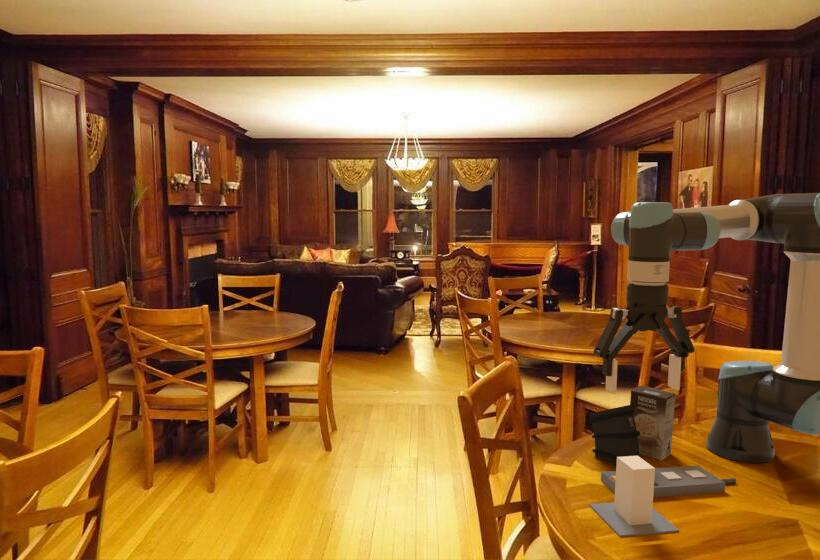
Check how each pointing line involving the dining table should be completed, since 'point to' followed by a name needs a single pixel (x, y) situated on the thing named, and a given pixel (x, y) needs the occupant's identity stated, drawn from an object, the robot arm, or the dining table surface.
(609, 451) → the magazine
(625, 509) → the beige rectangular block
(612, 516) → the slate mat
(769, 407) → the robot arm
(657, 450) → the coffee box
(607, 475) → the power strip
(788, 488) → the dining table surface
